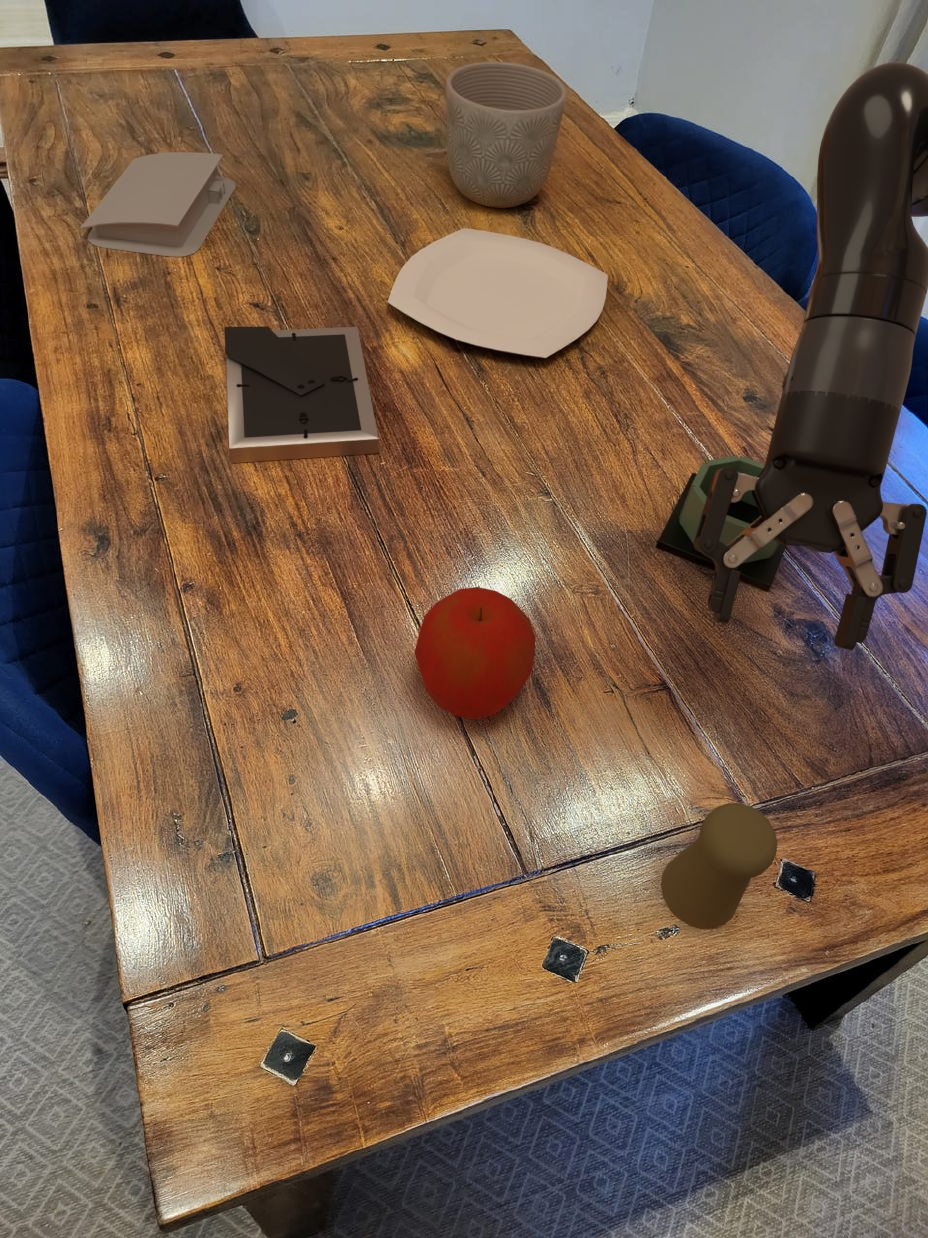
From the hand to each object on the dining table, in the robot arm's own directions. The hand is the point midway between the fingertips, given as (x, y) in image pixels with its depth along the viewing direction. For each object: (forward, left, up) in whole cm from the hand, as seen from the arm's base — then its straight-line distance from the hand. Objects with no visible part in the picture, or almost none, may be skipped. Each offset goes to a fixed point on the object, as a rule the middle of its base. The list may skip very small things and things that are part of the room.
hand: (781, 634), depth 60 cm
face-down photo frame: (+56, -23, -19) cm, 63 cm away
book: (+95, -48, -19) cm, 108 cm away
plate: (+45, -54, -19) cm, 73 cm away
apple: (+21, +3, -19) cm, 28 cm away
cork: (-3, +11, -19) cm, 22 cm away
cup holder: (+6, -28, -18) cm, 34 cm away
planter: (+58, -80, -19) cm, 101 cm away
